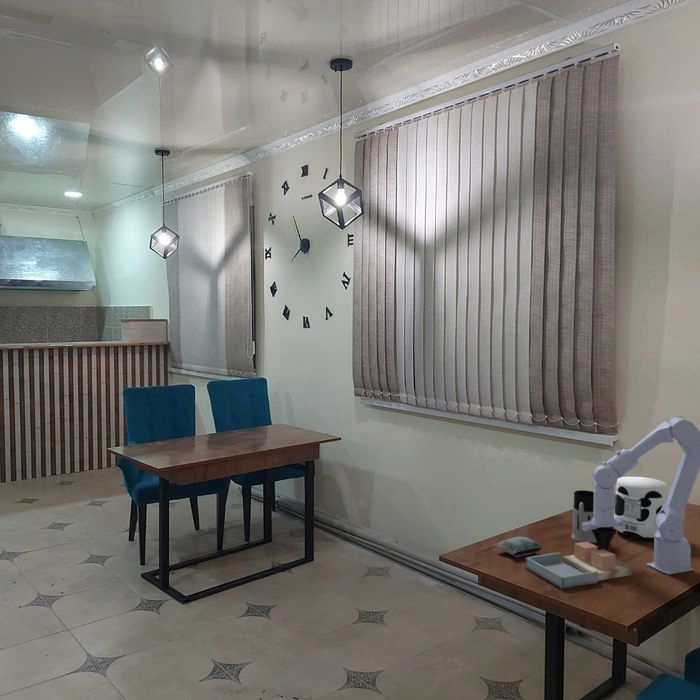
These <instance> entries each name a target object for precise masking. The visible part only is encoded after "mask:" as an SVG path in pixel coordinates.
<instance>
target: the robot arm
mask: <svg viewBox="0 0 700 700" xmlns="http://www.w3.org/2000/svg"><path fill="white" fill-rule="evenodd" d="M674 440H676V441H677V444H678V445H679V446H680V448H681V450H682V451H683V452H682V456H681V459H680V461H679V465H678V467H677V470H676V473H675V476H674V477H673V481H672V483H671V484H672V485H671V487H670V490H669V493H668V495H667V501H666V503H665V504H664V505H663V506H662V509H661V511H660V512H659V513H658V514H656V516H655V518H654V524H655V526H656V528H657V529H658V530H657V532H656V533H655V538H654V539H653V541H654V542H653V543H654V548H653V562H648V563H646V565H647V567H650V568H653V569H655V570H656V571H660V572H661V573H664V574H667V575H674V574H680V573H685V572H686V573H687V572H690V571H693V567H691V555H692V553H691V552H692V551H691V550H692V549H691V545H690V542H689V541H688V539H686V538H685V537H684V533H685V529H684V522H685V517H686V516H685V512H686V511H685V510H686V507H687V505H688V501H689V499H690V496H691V494H692V493H691V492H692V490H693V487H694V484H695V481H696V479H697V476H698V474H699V470H700V430H699V429H698V427H697V426H696V425H695V424H694V423H693V422H692V421H690V420H688V419H687V418H685V417H684V416H681V415H674V416H671V417H669V419H667V420H665V421H663V422H662V423H660V424H659V425H658V426H657V427H655V428H654V429H653V430H652V431H651V432H649V433H648V434H647V435H646V436H645V437H643V439H641V440H640V441H639V442H638V443H636V444H635V445H634V446H633V447H632V448H630V449H629V448H627V449H626V448H623V449H621V450H619V449H618V450H616V451H615V455H614V456H612V457H611V458H610V459H608V461H606V460H604V461H603V462H602V465H599V466H596V467H595V468H594V471H593V472H592V477H593V479H594V486H593V487H594V490H593V492H594V513H593V518H592V520H590V521H588V522H585V523H582V530H584V531H589V530H592V532H593V534H594V536H595V538H596V541H597V542H596V544H597V545H596V546H597V550H603V549H604V550H606V551H609V547H610V545H611V542H612V540H613V538H614V536H615V535H616V534H617V530H616V529H615V526H625V520H624V519H622V518H614V509H615V499H616V492H615V486H616V485H617V480H618V478H621V477H624V475H625V474H627V473H629V472H630V471H631V470H632V469H634V468H635V467H636V466H637V465H638V462H639V461H638V460H639V458H640V457H642V456H644V455H645V454H646V453H649V452H650V451H652V450H653V449H655V447H657V446H659V445H660V444H662V443H674V442H675V441H674Z"/></svg>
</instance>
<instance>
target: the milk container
mask: <svg viewBox="0 0 700 700" xmlns="http://www.w3.org/2000/svg"><path fill="white" fill-rule="evenodd" d="M615 487H616V488H615V489H616V490H615V505H614V518H622V519H624V520H625V526H615V527H614V529H616V532H618V533H620V534H622V535H624V536H626V537H630V538H635V539H637V540H638V539H640V540H654V538H655V533H656V532H657V530H658V529H657V528H656V526H655V524H654V518H655V516H656V514H658V513H659V512H660V511H661V509H662V506H663V505H664V504H665V503H666V501H667V498H668V495H667V494H668V488H667V487H668V486H667V483H666V482H665V481H664V480H663V481H662V480H660V479H656V478H652V477H644V476H621V477H620V478H617V482H616V484H615Z"/></svg>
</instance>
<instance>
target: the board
mask: <svg viewBox="0 0 700 700" xmlns="http://www.w3.org/2000/svg"><path fill="white" fill-rule="evenodd" d="M561 558H562V559H561V561H562V562H563V563H565V564H567V565H569V566H571V567H573V568H575V569H577V570H579V571H581V572H583V573H588V572H594V571H597V572H598V582H599V581H605V580H609V579H616V578H620V577H627V576H632V575H634V573H633V572H634V568H633V566H631V565H629V564H625V563H624V562H622V561H619V560H618V559H615V569H610V570H604V571H602V570H600V569H598V568H596V567H594V566H592V565H591V561H588V562H584V561H582V560H580V559H578V558H576V557H574V554H572V555H565V556H562V557H561Z"/></svg>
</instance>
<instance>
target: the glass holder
mask: <svg viewBox="0 0 700 700" xmlns="http://www.w3.org/2000/svg"><path fill="white" fill-rule="evenodd" d="M572 507H573V509H572V533H571V535H570V536H571V537H570V538H571V539H573V540H574V541H577V542H579V543H580V542H589V543H591V544H593V543H594V544H595V543H597V541H596V538H595V536H594V534H593V532H592V530H589V531H584V530H582V523H585V522H588V521H590V520H592V518H593V513H594V491H591V490H583V489H582V490H575V491H573V505H572Z"/></svg>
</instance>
